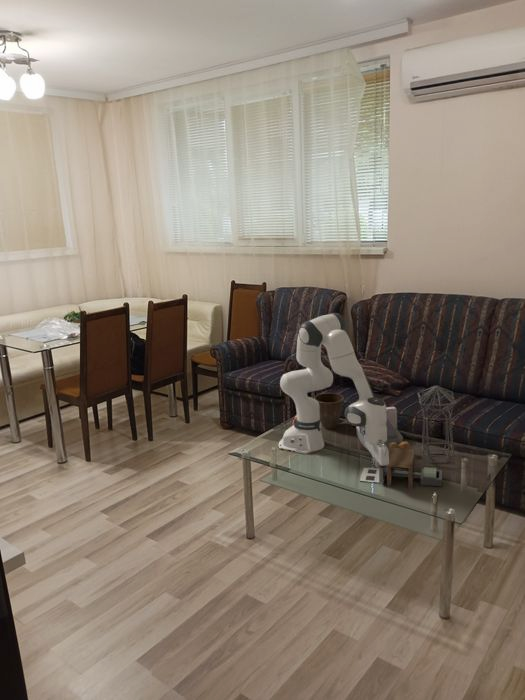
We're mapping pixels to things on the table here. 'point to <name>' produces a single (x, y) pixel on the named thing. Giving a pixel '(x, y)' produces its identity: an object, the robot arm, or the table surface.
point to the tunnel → (401, 462)
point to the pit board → (370, 475)
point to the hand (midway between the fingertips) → (376, 465)
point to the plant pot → (330, 409)
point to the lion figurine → (399, 445)
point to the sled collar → (413, 476)
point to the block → (429, 472)
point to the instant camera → (391, 425)
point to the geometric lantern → (441, 390)
